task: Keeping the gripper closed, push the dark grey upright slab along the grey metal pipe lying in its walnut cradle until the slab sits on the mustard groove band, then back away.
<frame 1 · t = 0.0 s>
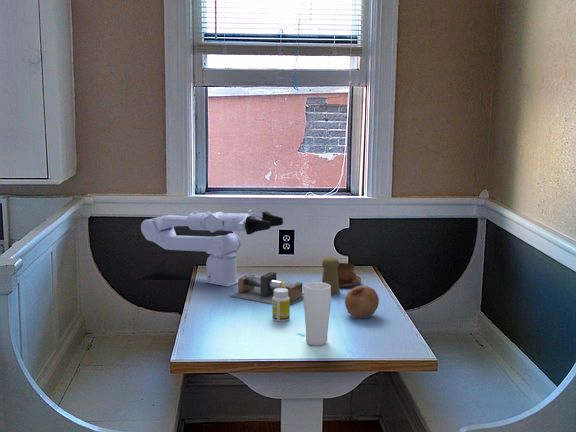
hand: (276, 223, 224), 22 cm above the table, tool horizontal, fingers open, 7 cm apart
cup and saucer: (342, 284, 237), on the table
pipe: (269, 295, 223), resting on mat
supplement bottle: (280, 320, 202), on the table
dark grey upright slab: (268, 284, 223), point 4 cm above the table, slide at 0.0 cm
onion: (361, 317, 205), on the table
drinking glass: (316, 343, 184), on the table
mat: (269, 295, 223), on the table
cork: (329, 293, 227), on the table
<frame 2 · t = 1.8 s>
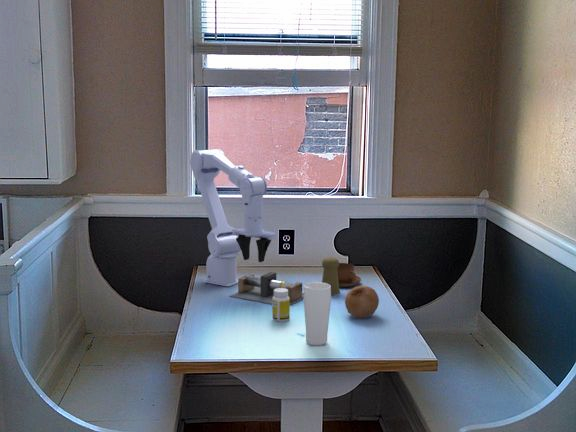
hand: (253, 260, 224), 10 cm above the table, tool pointing down, fingers open, 5 cm apart
nothing on the table moved.
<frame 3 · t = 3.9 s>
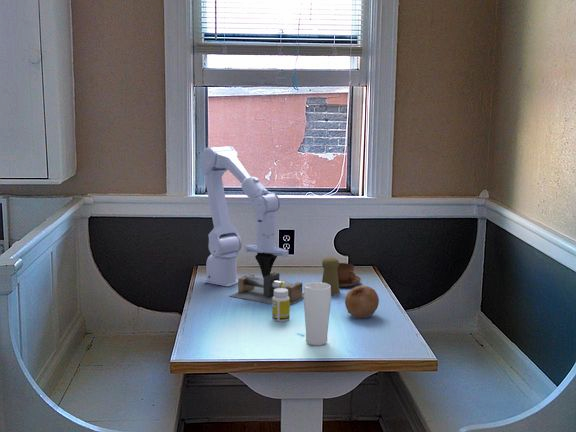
hand: (266, 277, 223), 6 cm above the table, tool pointing down, fingers closed
dark grey upright slab: (271, 284, 222), point 4 cm above the table, slide at 1.1 cm, touching gripper
everything else where it was.
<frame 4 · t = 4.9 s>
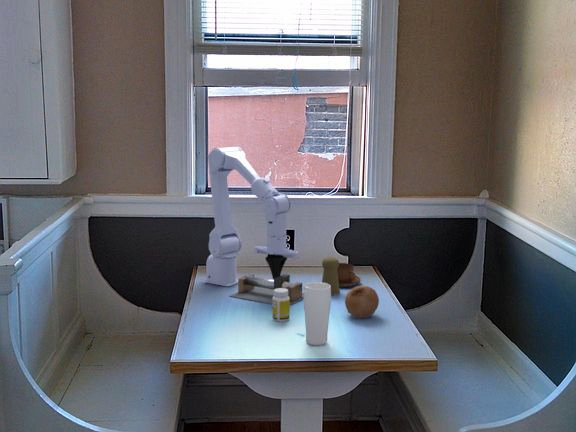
hand: (276, 278, 221), 6 cm above the table, tool pointing down, fingers closed
dark grey upright slab: (281, 286, 220), point 4 cm above the table, slide at 4.7 cm, touching gripper
everything else where it was.
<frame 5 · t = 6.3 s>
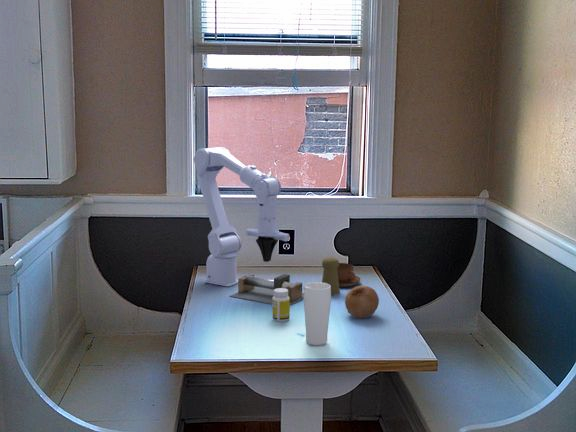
hand: (266, 261, 224), 10 cm above the table, tool pointing down, fingers closed
dark grey upright slab: (281, 286, 220), point 4 cm above the table, slide at 4.7 cm
everything else where it was.
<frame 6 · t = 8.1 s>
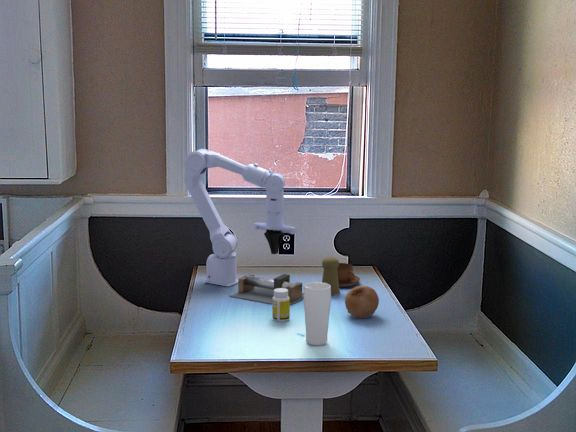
hand: (274, 253, 233), 10 cm above the table, tool pointing down, fingers closed
nothing on the table moved.
at the end: dark grey upright slab slide at 4.7 cm; dark grey upright slab touching nothing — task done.
